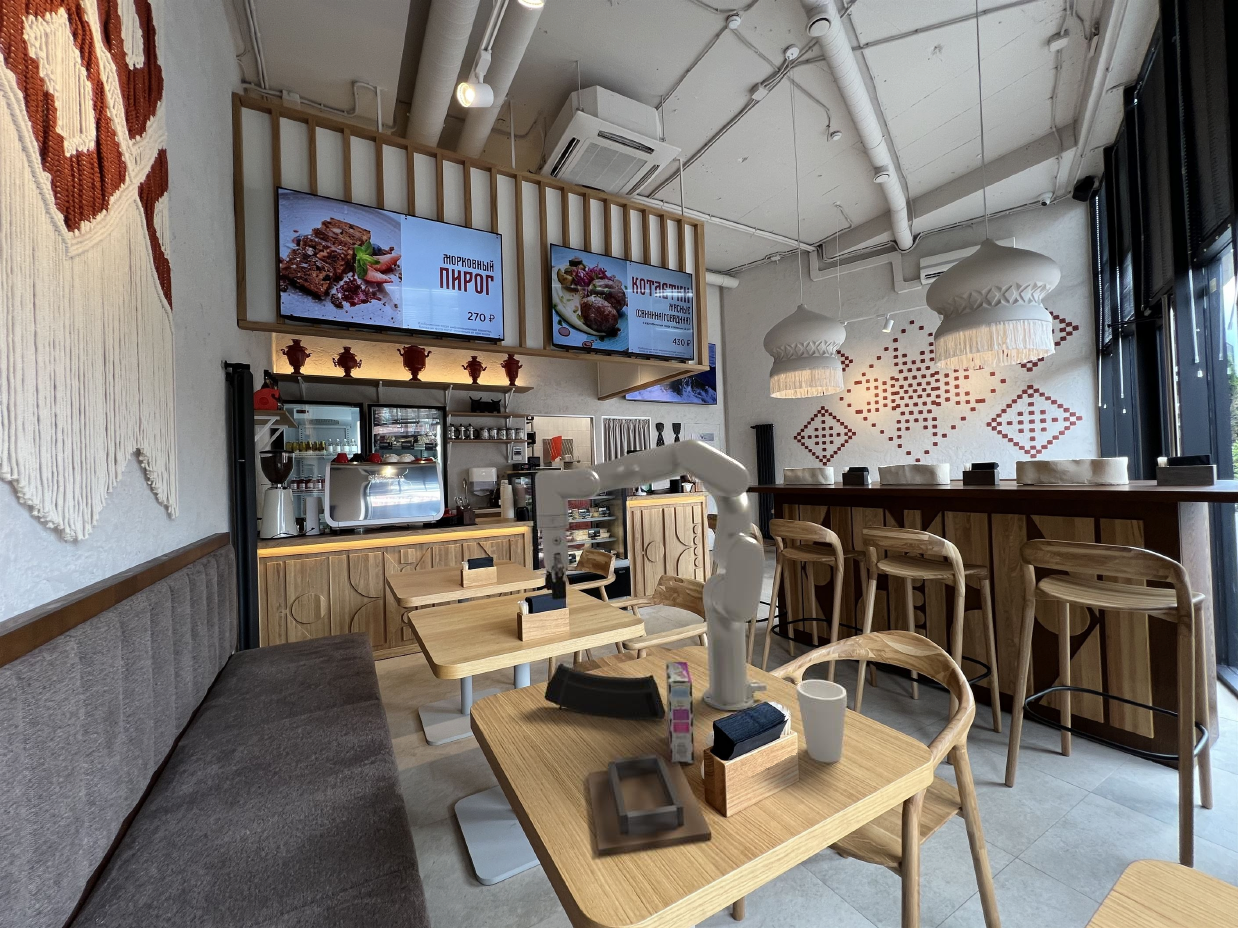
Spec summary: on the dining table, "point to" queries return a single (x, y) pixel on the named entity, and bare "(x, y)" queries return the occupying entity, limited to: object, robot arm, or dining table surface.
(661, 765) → the end cap board
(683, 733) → the candy bar box
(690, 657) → the dining table surface
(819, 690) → the foam cup
